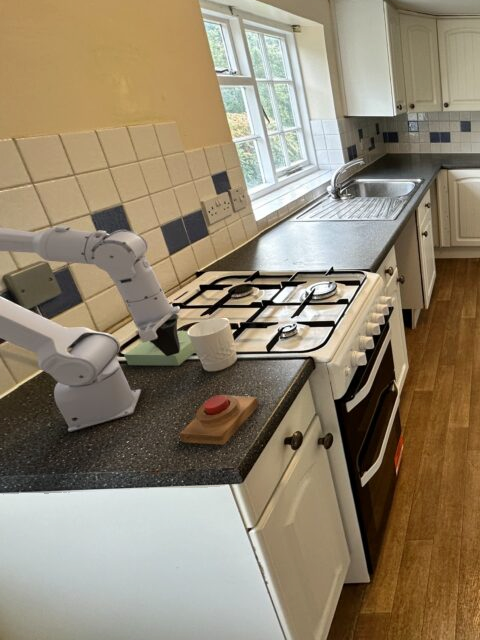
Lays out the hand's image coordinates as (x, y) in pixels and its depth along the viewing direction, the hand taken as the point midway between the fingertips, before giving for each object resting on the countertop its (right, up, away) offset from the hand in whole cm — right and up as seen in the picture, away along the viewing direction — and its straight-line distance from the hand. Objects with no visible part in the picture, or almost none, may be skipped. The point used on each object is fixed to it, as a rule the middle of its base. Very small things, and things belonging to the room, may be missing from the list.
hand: (173, 353), depth 83 cm
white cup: (0, -6, +14) cm, 15 cm away
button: (+12, -10, -5) cm, 16 cm away
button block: (+12, -13, -3) cm, 18 cm away
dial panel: (-15, -4, +18) cm, 24 cm away
